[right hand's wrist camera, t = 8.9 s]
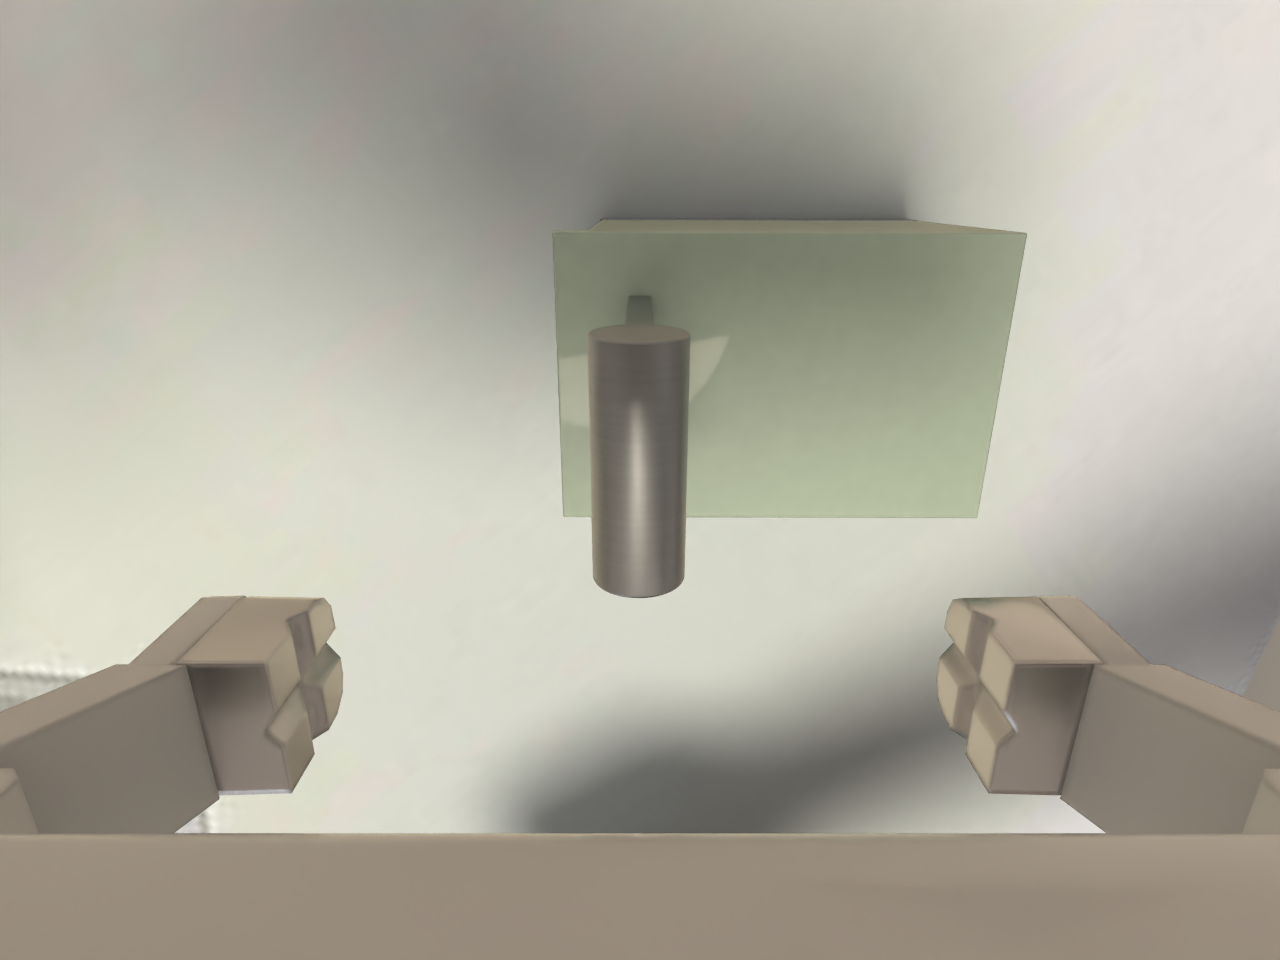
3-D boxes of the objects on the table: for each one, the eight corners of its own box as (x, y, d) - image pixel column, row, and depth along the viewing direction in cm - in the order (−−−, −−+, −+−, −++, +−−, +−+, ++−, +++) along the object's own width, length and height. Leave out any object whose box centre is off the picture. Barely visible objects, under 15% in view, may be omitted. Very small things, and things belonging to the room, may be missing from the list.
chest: (604, 425, 35) (592, 504, 26) (601, 218, 32) (585, 229, 23) (882, 425, 35) (963, 505, 26) (907, 219, 32) (1010, 230, 23)
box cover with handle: (566, 504, 26) (528, 661, 17) (556, 230, 23) (503, 253, 14) (964, 505, 26) (1125, 663, 17) (1010, 231, 23) (1236, 255, 14)
